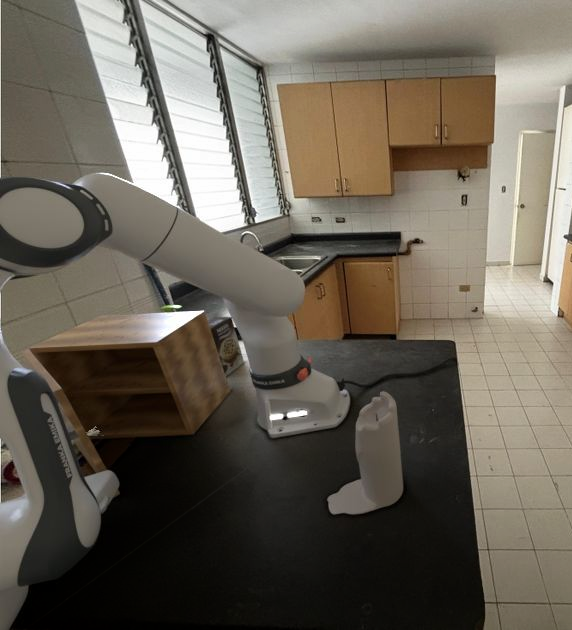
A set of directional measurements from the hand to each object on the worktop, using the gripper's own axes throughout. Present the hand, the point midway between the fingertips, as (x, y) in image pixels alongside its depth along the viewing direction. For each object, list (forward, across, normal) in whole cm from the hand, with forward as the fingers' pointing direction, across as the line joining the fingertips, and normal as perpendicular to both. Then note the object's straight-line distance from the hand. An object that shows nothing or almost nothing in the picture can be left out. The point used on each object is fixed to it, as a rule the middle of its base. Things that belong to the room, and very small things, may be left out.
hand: (56, 477), depth 59 cm
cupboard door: (+8, +2, +7) cm, 11 cm away
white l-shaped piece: (-24, -49, +7) cm, 55 cm away
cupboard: (+24, -10, +7) cm, 27 cm away
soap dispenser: (+51, -12, +7) cm, 53 cm away
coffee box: (+40, -24, +7) cm, 47 cm away
